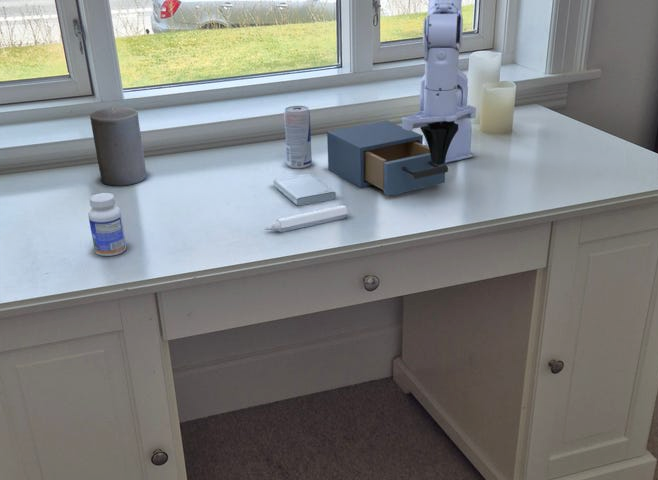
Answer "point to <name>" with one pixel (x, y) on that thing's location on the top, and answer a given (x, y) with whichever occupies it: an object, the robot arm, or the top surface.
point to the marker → (309, 219)
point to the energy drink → (298, 136)
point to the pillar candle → (118, 146)
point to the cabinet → (362, 147)
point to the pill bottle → (106, 225)
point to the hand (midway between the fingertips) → (437, 163)
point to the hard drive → (304, 189)
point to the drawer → (402, 168)
